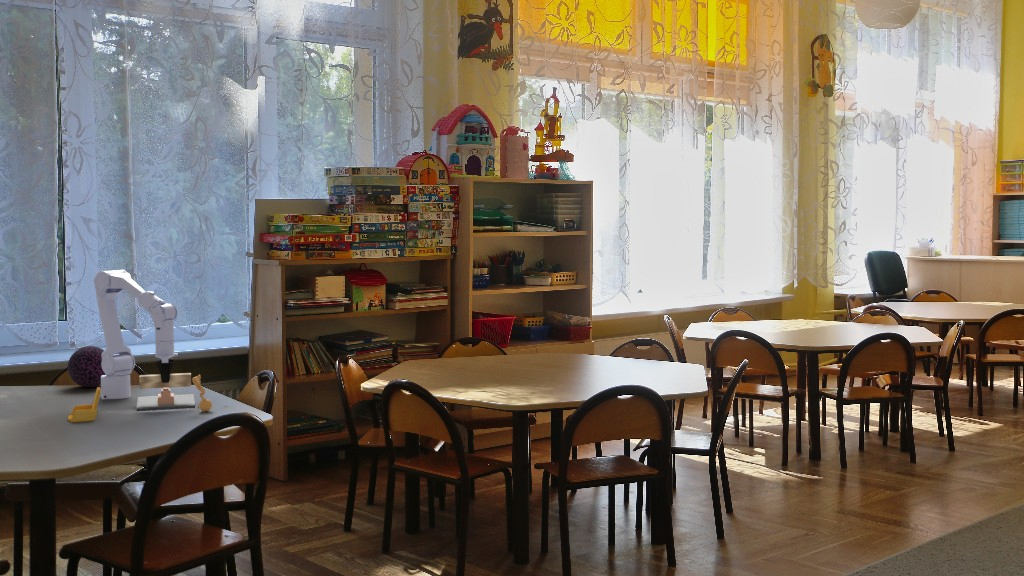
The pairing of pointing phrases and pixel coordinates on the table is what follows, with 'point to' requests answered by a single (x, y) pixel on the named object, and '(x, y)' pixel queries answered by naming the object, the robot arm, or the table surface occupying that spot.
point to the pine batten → (156, 382)
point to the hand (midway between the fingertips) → (165, 381)
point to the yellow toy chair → (85, 410)
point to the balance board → (155, 399)
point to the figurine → (205, 403)
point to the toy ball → (86, 366)
